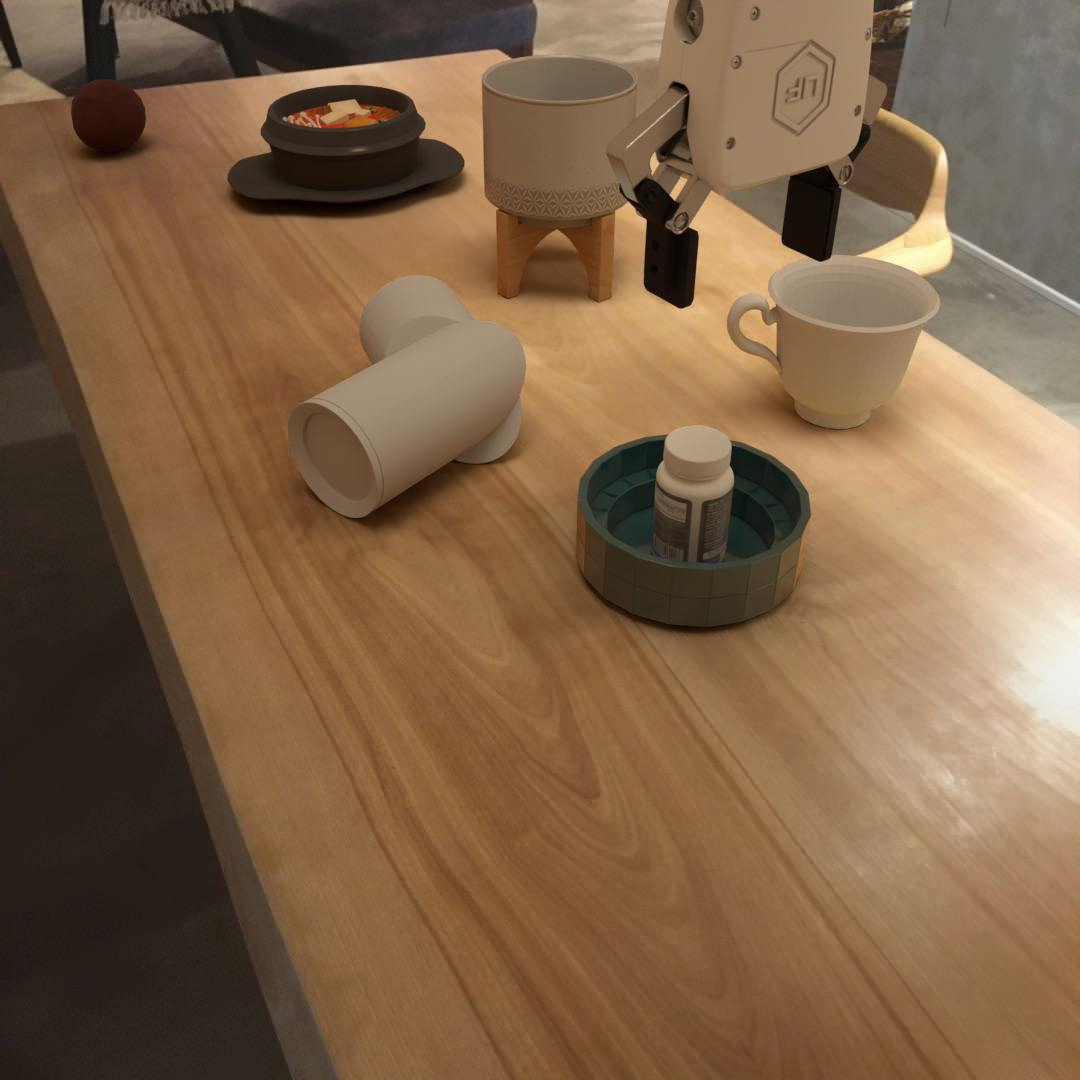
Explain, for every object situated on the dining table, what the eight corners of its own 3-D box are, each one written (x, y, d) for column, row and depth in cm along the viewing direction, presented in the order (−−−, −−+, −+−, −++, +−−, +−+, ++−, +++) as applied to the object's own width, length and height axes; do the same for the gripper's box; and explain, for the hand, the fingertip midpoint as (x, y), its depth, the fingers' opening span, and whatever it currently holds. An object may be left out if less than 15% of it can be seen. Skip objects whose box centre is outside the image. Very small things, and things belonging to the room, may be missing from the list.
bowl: (846, 585, 74) (859, 521, 71) (658, 664, 68) (664, 598, 65) (710, 473, 83) (716, 412, 80) (536, 534, 78) (536, 471, 75)
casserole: (241, 233, 116) (227, 148, 111) (221, 167, 130) (208, 89, 125) (485, 203, 122) (483, 122, 117) (441, 144, 136) (438, 68, 131)
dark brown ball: (167, 139, 137) (153, 70, 132) (127, 167, 130) (111, 96, 125) (104, 133, 138) (88, 65, 134) (61, 161, 131) (43, 90, 126)
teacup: (701, 375, 94) (713, 258, 88) (883, 367, 95) (907, 250, 89) (734, 459, 85) (750, 334, 79) (936, 449, 86) (966, 325, 80)
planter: (458, 272, 109) (449, 73, 98) (562, 235, 116) (565, 45, 105) (550, 321, 101) (552, 112, 90) (656, 278, 108) (670, 79, 97)
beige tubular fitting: (585, 475, 81) (490, 344, 95) (555, 348, 74) (457, 227, 88) (343, 577, 78) (283, 425, 93) (288, 454, 71) (233, 312, 86)
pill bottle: (719, 529, 77) (732, 420, 72) (730, 575, 73) (745, 463, 68) (646, 530, 77) (654, 421, 72) (654, 576, 73) (663, 465, 68)
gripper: (683, -56, 45) (657, 347, 55) (977, -100, 53) (906, 259, 63) (567, -85, 50) (562, 290, 60) (851, -121, 58) (804, 216, 68)
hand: (738, 274), depth 62 cm, fingers open, 9 cm apart
